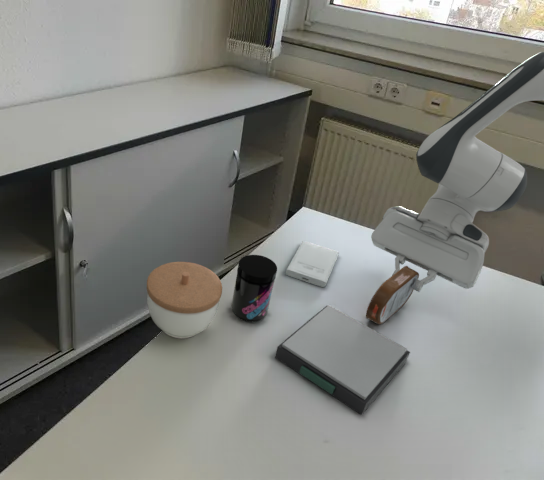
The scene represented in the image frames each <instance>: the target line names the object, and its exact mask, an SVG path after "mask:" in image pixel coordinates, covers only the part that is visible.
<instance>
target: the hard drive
mask: <svg viewBox="0 0 544 480" xmlns="http://www.w3.org/2000/svg"><path fill="white" fill-rule="evenodd" d="M339 254H340V252H339V250H335V249H332V248H329V247H326V246H323V245H319V244H315V243H312V242H310V241H305V240H302V241H301V242H300V244H299V247H298V248H297V250H296V251H295V253H294V255H293V257H292V259H291V260H290V263H289V264H288V266H287V267H286V269H285V270H286V271H285V276H288V277H290V278H293V279H296V280H299V281H303V282H305V283H308V284H311V285H315V286H317V287H321V288H326V285H327V284H328V281H329V279H330V276H331V273H332V272H333V269H334V266H335V264H336V262H337V259H338V257H339Z"/></svg>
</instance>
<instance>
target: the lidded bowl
mask: <svg viewBox="0 0 544 480" xmlns="http://www.w3.org/2000/svg"><path fill="white" fill-rule="evenodd" d="M222 294H223V284H222V282H221V279H220V278H219V276H218V275H217V274H216V273H215V272H214V271H213V270H211V269H209V268H208V267H206V266H203V265H202V264H198V263H195V262H189V261H172V262H171V261H170V262H167V263H163V264H161V265H159V266H158V267H155V268H154V269H153V270H152V271H151V272H150V273H149V274H148V276H147V279H146V303H147V309H148V314H149V315H150V318H151V320H152V322H153V323H154V324H155V325H156V326H157V328H159V329H160V330H161V331H162V332H163V333H164V334H165V335H167V336H169V337H171V338H174V339H180V340H181V339H182V340H183V339H190V338H192V337H195V336H196V335H198V334H200V333H202V332H203V331H205V330H206V329H207V328H208V327H209V326H210V325H211V324H212V322H213V321H214V319H215V317H216V315H217V313H218V310H219V306H220V301H221V297H222Z"/></svg>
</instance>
